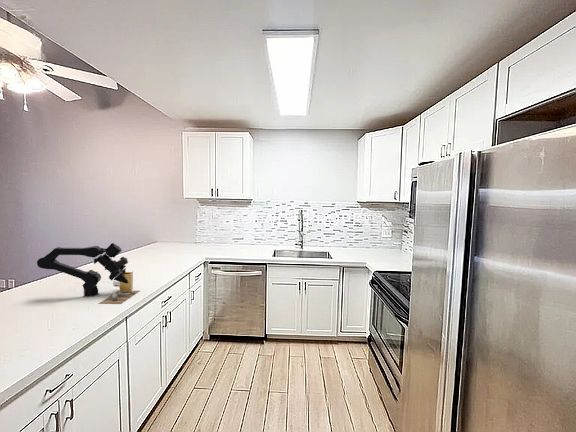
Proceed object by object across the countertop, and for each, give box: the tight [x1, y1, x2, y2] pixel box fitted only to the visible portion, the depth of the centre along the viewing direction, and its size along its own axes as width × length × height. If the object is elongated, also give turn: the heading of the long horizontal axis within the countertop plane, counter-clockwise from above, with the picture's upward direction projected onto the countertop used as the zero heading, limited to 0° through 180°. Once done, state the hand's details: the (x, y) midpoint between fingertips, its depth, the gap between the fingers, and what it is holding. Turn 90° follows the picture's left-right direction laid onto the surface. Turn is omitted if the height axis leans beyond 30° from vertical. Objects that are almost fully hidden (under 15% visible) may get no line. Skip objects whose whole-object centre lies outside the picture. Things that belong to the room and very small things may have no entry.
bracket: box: [112, 270, 134, 287], centre depth 230 cm, size 13×7×8 cm, turn 1°
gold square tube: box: [119, 271, 134, 292], centre depth 203 cm, size 6×6×10 cm
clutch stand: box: [97, 289, 141, 305], centre depth 196 cm, size 26×12×6 cm, turn 1°
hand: (128, 281), depth 204 cm, fingers closed on gold square tube, 6 cm apart
